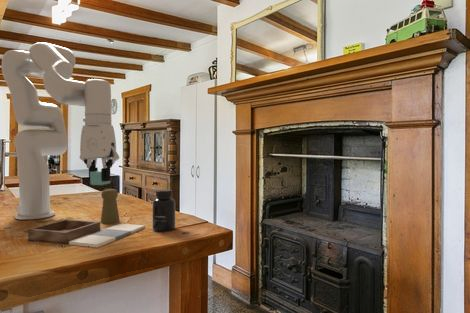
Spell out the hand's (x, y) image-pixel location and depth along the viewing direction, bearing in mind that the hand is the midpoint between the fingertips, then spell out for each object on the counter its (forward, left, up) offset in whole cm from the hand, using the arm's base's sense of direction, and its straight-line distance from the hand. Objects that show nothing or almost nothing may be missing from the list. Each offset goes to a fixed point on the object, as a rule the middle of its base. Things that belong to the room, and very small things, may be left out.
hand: (99, 180), depth 105 cm
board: (+8, -6, -15) cm, 18 cm away
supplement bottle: (+19, +5, -15) cm, 25 cm away
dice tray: (-4, -10, -15) cm, 18 cm away
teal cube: (0, 0, -1) cm, 1 cm away
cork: (-4, +9, -15) cm, 18 cm away
